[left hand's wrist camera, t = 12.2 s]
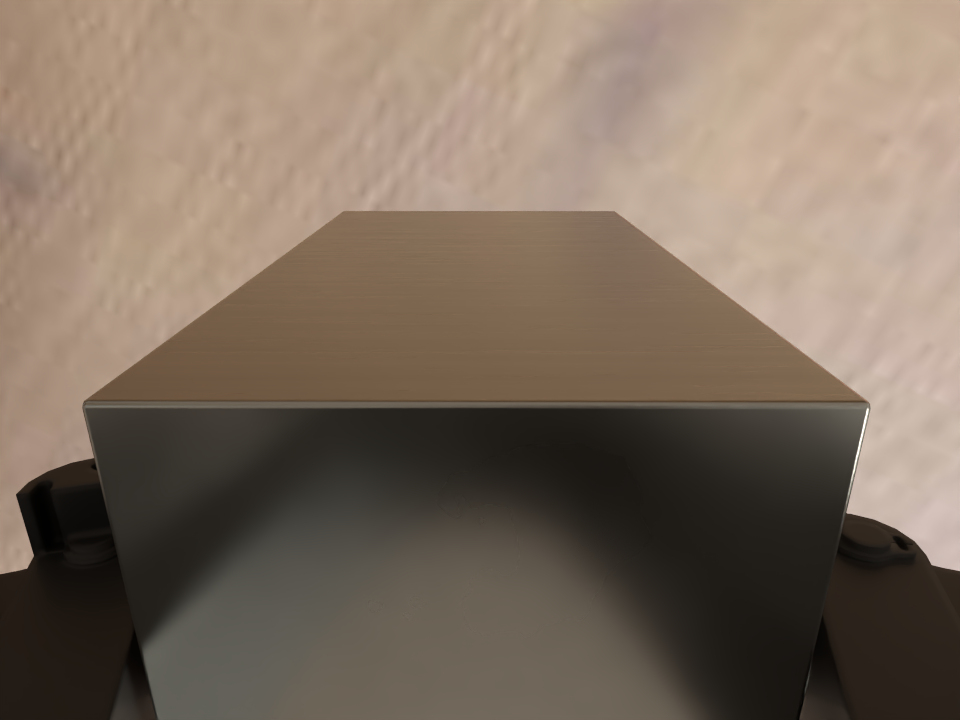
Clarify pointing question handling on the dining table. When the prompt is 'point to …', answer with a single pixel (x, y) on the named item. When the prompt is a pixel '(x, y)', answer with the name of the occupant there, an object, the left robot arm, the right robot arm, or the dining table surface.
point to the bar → (476, 483)
